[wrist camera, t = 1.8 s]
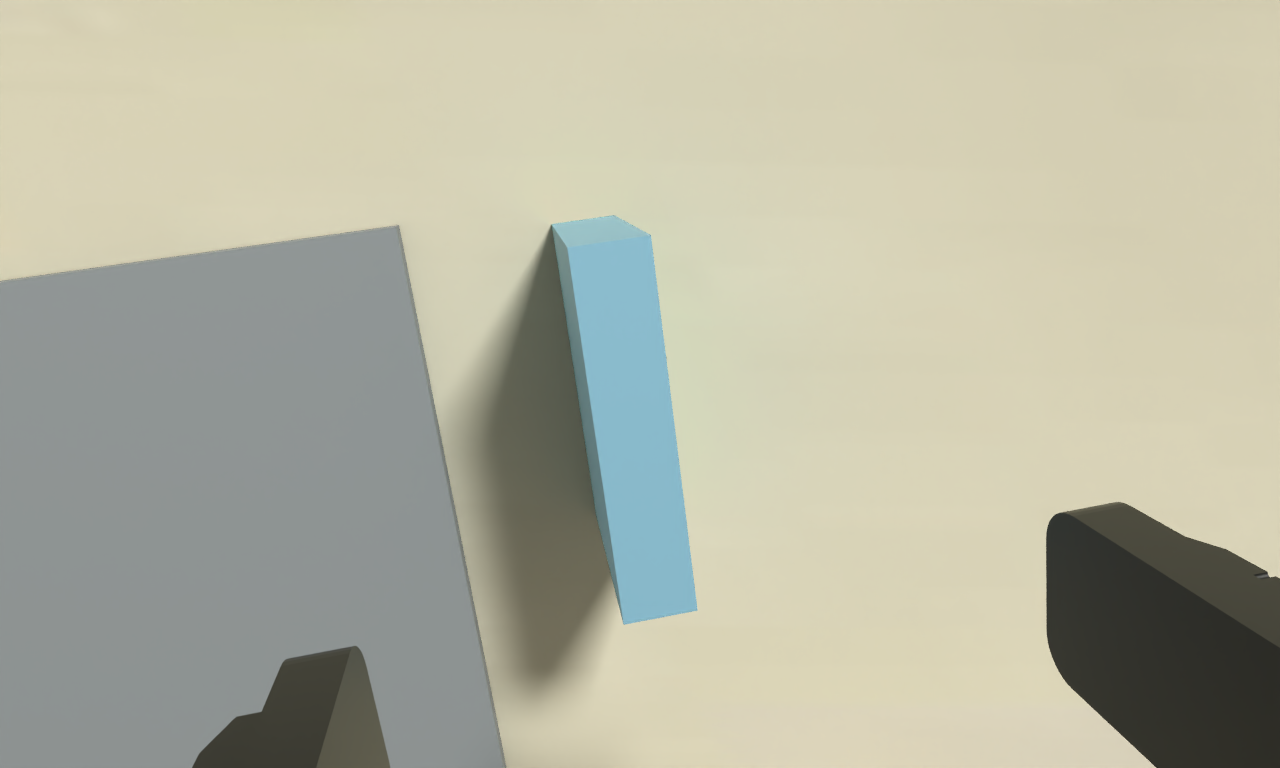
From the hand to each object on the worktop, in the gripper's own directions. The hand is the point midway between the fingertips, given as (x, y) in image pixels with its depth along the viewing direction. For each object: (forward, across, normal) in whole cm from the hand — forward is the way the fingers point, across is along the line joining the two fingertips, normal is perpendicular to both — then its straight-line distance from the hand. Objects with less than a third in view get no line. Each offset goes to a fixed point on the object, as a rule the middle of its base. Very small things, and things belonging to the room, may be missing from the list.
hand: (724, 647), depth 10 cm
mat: (+14, +12, +5) cm, 19 cm away
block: (+14, 0, 0) cm, 14 cm away
